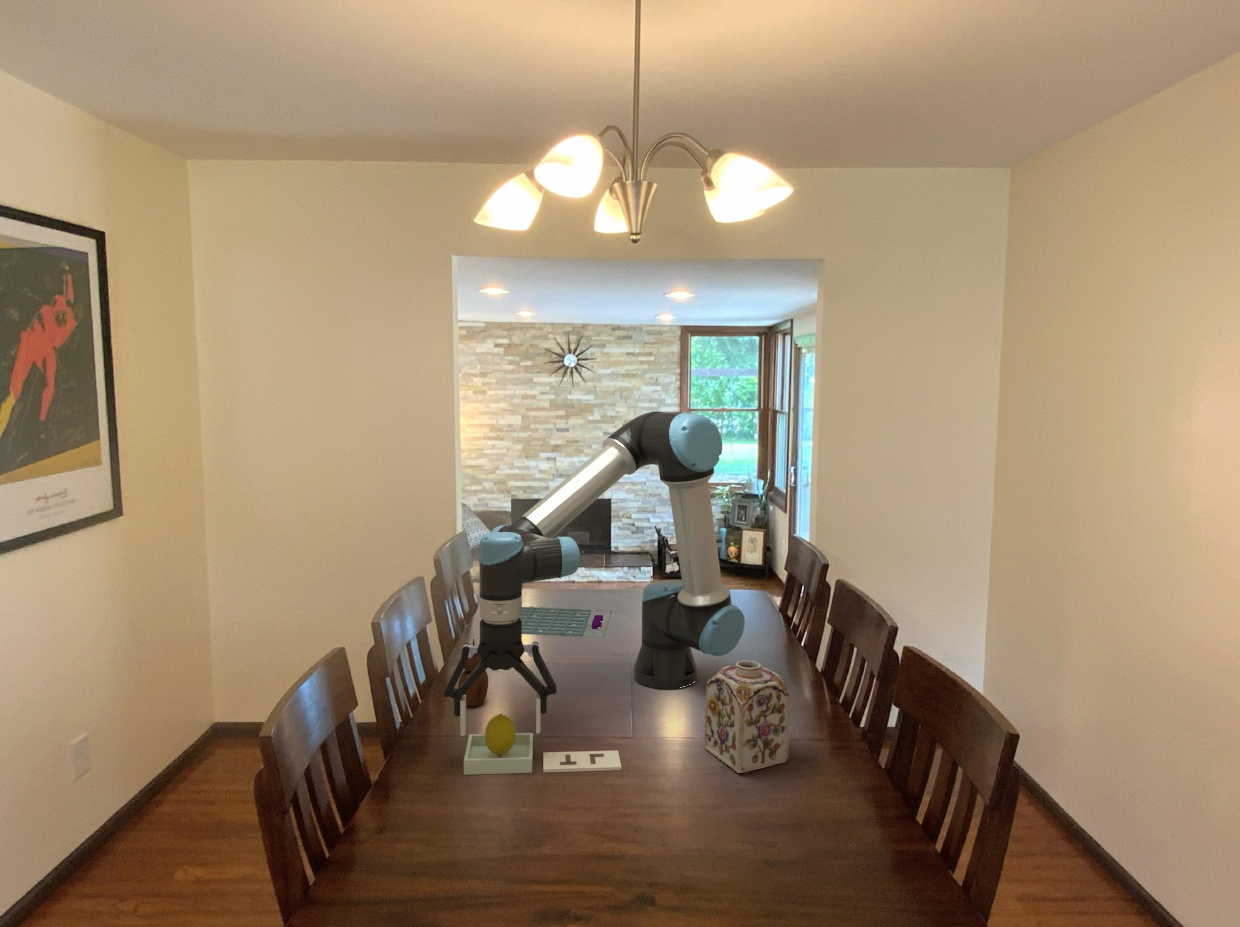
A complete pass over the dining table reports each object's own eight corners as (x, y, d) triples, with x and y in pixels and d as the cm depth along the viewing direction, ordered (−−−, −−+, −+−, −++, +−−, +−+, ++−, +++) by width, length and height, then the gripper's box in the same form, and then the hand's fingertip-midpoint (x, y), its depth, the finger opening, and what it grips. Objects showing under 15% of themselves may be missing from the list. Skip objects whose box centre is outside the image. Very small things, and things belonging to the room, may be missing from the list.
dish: (532, 745, 148) (532, 732, 148) (532, 772, 138) (532, 758, 138) (469, 747, 147) (469, 734, 147) (463, 774, 137) (463, 760, 137)
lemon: (485, 749, 145) (486, 708, 144) (515, 748, 146) (516, 707, 145) (483, 763, 140) (484, 721, 139) (514, 763, 140) (515, 720, 139)
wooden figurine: (480, 711, 164) (480, 642, 162) (454, 708, 165) (454, 639, 163) (491, 698, 170) (492, 632, 169) (467, 696, 171) (467, 630, 170)
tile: (617, 753, 146) (617, 749, 146) (621, 770, 140) (621, 766, 140) (543, 755, 145) (543, 751, 144) (543, 772, 138) (543, 768, 138)
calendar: (521, 607, 243) (521, 600, 243) (612, 611, 241) (612, 604, 240) (501, 635, 216) (501, 627, 216) (603, 640, 214) (603, 631, 213)
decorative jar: (737, 776, 138) (741, 679, 137) (701, 749, 149) (704, 658, 147) (790, 763, 144) (794, 669, 142) (752, 737, 154) (755, 649, 152)
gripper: (427, 626, 135) (428, 742, 137) (570, 623, 138) (569, 738, 140) (433, 613, 142) (434, 724, 145) (569, 611, 145) (568, 720, 147)
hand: (501, 731), depth 142 cm, fingers open, 13 cm apart
